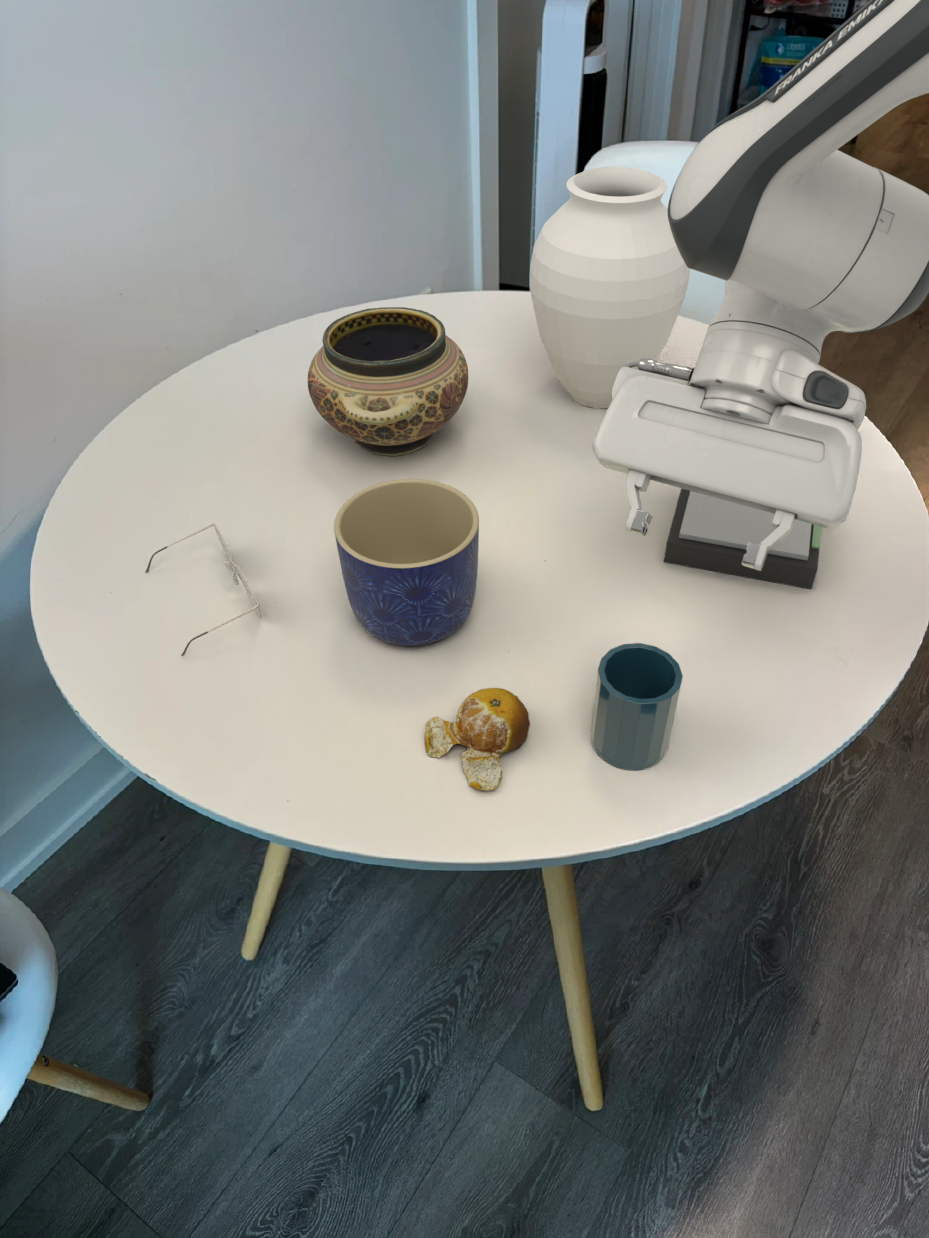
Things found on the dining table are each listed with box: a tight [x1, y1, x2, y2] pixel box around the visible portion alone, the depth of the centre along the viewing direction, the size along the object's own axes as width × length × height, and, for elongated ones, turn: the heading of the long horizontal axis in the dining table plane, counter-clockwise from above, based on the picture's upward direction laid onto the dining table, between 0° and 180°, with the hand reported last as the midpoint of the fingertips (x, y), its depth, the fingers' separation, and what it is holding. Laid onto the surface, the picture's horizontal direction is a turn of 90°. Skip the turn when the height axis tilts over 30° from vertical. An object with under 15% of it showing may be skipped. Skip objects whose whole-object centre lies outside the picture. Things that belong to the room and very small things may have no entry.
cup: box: [590, 642, 684, 771], centre depth 72 cm, size 6×6×8 cm
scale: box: [663, 488, 822, 590], centre depth 92 cm, size 14×12×3 cm
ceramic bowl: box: [307, 306, 469, 457], centre depth 104 cm, size 24×18×15 cm
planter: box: [333, 478, 480, 647], centre depth 82 cm, size 12×12×11 cm
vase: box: [529, 166, 691, 409], centre depth 106 cm, size 18×18×25 cm
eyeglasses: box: [144, 522, 262, 657], centre depth 87 cm, size 14×8×4 cm, turn 28°
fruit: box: [424, 687, 531, 792], centre depth 74 cm, size 8×8×4 cm
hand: (691, 550), depth 72 cm, fingers open, 8 cm apart
